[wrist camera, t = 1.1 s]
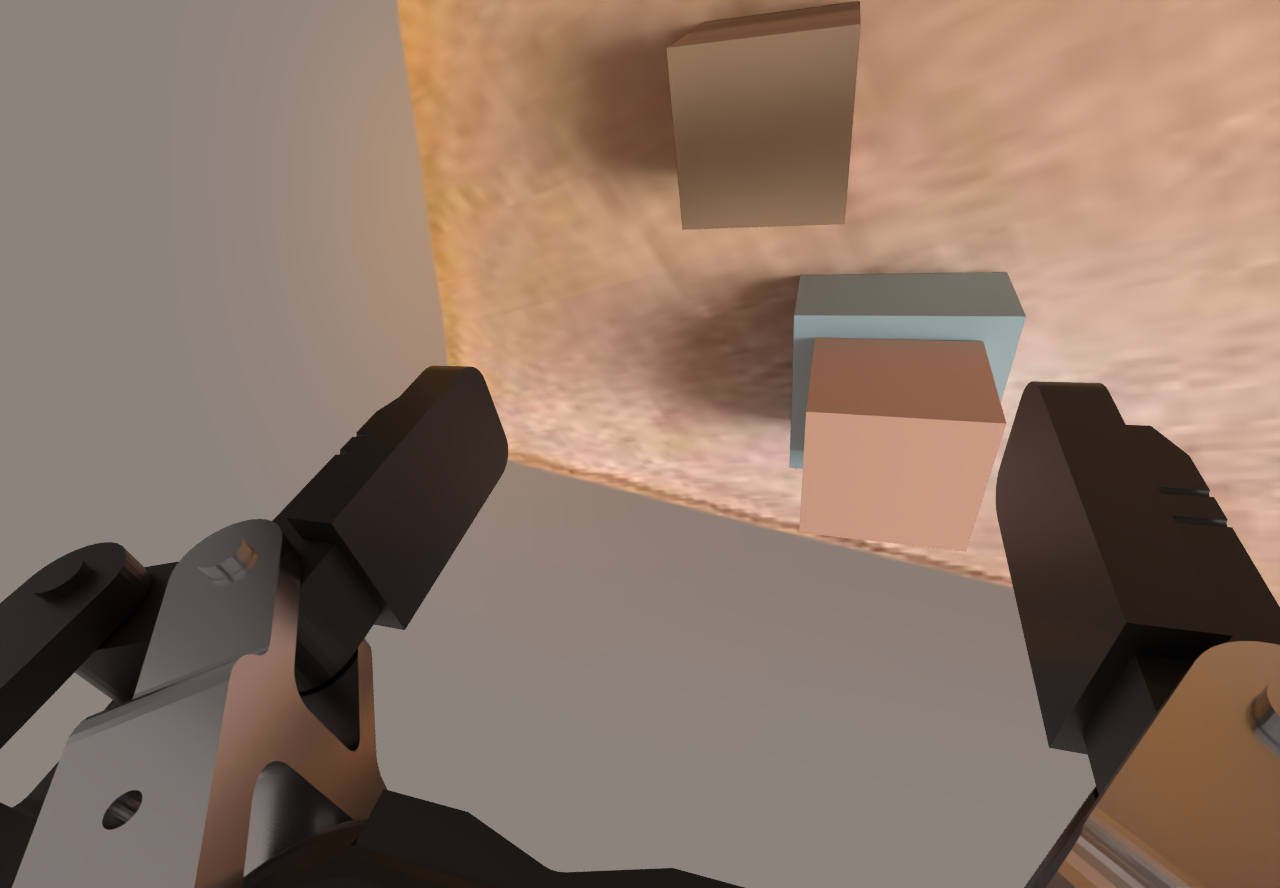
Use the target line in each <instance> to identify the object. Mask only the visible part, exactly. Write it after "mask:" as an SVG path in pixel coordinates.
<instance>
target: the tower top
mask: <svg viewBox="0 0 1280 888" xmlns="http://www.w3.org/2000/svg"><path fill="white" fill-rule="evenodd" d="M1005 426H1006V421H1005V417H1004V414H1003V410H1002V407H1001V403H1000V399H999V396H998V392H997V389H996V385H995V381H994V378H993V374H992V371H991V367H990V363H989V360H988V356H987V353H986V349H985V345H984V342H980V341H940V340H900V339H860V338H820V337H815V342H814V351H813V359H812V367H811V375H810V384H809V392H808V400H807V409H806V423H805V441H804V459H803V477H802V495H801V513H800V532H801V533H810V534H818V535H827V536H835V537H844V538H853V539H861V540H870V541H879V542H887V543H896V544H905V545H913V546H922V547H931V548H939V549H948V550H956V551H965V552H966V549H967V546H968V543H969V540H970V537H971V534H972V530H973V527H974V524H975V521H976V518H977V515H978V511H979V508H980V505H981V502H982V499H983V496H984V492H985V489H986V486H987V483H988V480H989V477H990V473H991V470H992V467H993V464H994V461H995V458H996V454H997V451H998V448H999V445H1000V442H1001V439H1002V436H1003V432H1004V429H1005Z"/></svg>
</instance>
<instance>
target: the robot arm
mask: <svg viewBox="0 0 1280 888" xmlns="http://www.w3.org/2000/svg"><path fill="white" fill-rule="evenodd" d="M507 458H508V444H507V439H506V436H505V433H504V430H503V428H502V425H501V422H500V419H499V417H498V414H497V411H496V409H495V406H494V403H493V401H492V398H491V395H490V393H489V390H488V387H487V385H486V382H485V379H484V377H483V375H482V374H481V372H480V371H479V370H478V369H476V368H474V367H460V366H430V367H428V368H426V369H425V370H424V371H423V372H422V373H421V374H420V375H419V377H418V378H417V379H416V380H415V381H414V382H413V383H412V384H411V385H410V386H409V387H408V388H407V389H406V391H405V392H404V393H403V394H402V395H401V396H400V397H399V398H397V399H395V400H394V401H392V402H391V403H389V404H388V405H386V406H385V407H383V408H382V409H380V410H379V411H377V412H376V413H375V414H374V415H373V416H372V417H371V418H370V419H369V420H368V421H367V422H366V423H365V425H363V426H362V427H361V428H360V430H359V431H358V432H357V436H356V437H352V438H351V439H350V440H349V441H348V442H347V443H346V445H344V446H343V447H342V448H341V450H340V455H335V456H334V457H333V458H332V459H331V460H330V461H329V462H328V463H327V464H326V465H325V466H324V467H323V468H322V469H321V470H320V472H319V473H318V474H317V475H316V476H315V477H314V478H313V479H312V480H311V481H310V482H309V483H308V484H307V485H306V486H305V487H304V488H303V490H301V492H300V493H299V494H298V495H297V496H296V497H295V498H294V499H293V500H292V501H291V502H290V503H289V504H288V505H287V506H286V507H285V508H284V509H283V511H282V512H281V513H280V514H279V515H278V516H277V517H276V518H275V519H274V520H273V521H270V520H266V519H251V520H247V521H242V522H238V523H235V524H232V525H230V526H227V527H225V528H223V529H221V530H219V531H217V532H215V533H213V534H211V535H210V536H208V537H206V538H205V539H204V540H202V541H201V542H199V543H198V544H197V545H196V546H194V547H193V548H192V549H191V550H190V551H189V552H188V553H187V554H186V555H185V556H184V557H183V558H182V559H181V560H180V561H179V562H174V563H168V564H161V565H155V566H150V567H143V566H142V565H141V564H140V563H139V562H138V561H137V560H136V559H135V558H134V557H133V556H132V555H131V554H130V553H129V552H128V551H126V549H124V547H123V546H121V545H119V544H117V543H112V542H111V543H110V542H109V543H99V544H94V545H90V546H86V547H83V548H81V549H78V550H75V551H73V552H71V553H69V554H66V555H65V556H63V557H61V558H59V559H57V560H55V561H54V562H52V563H50V564H49V565H47V566H46V567H44V568H43V569H41V570H40V571H38V572H37V573H36V574H35V575H33V576H32V577H31V578H30V579H28V580H27V581H26V582H25V583H24V584H23V585H21V586H20V587H19V588H18V589H17V590H16V591H14V592H13V593H12V594H11V595H10V596H8V597H7V598H6V599H5V600H4V601H3V602H1V603H0V749H1V748H2V747H3V746H4V745H5V743H6V742H7V741H8V740H9V739H10V738H11V737H12V736H13V735H14V734H15V733H16V732H17V731H18V730H19V729H20V728H21V727H22V726H23V725H24V724H25V723H26V722H27V721H28V720H29V719H30V718H31V717H32V716H33V714H34V713H35V712H36V711H37V710H38V709H39V708H40V707H41V706H42V705H43V704H44V703H45V702H46V701H47V700H48V699H49V698H50V697H51V696H52V695H53V694H54V693H55V691H57V690H58V689H59V688H60V687H61V685H63V683H64V682H65V681H66V680H67V679H68V678H69V677H70V676H71V675H72V674H73V673H74V672H75V673H76V674H78V675H79V676H80V677H82V678H83V679H85V680H86V681H87V682H89V683H90V684H92V685H93V686H94V687H96V688H97V689H99V690H100V691H101V692H103V693H104V694H106V695H107V696H108V697H110V698H111V699H112V700H113V701H112V702H111V703H110V704H109V705H108V706H107V707H106V709H105V710H104V711H102V712H99V713H96V714H94V715H92V716H90V717H87V718H86V719H85V720H83V721H82V722H81V723H80V724H79V725H78V726H77V727H76V728H75V729H74V731H73V732H72V733H71V735H70V736H69V739H68V741H67V743H66V745H65V747H64V750H63V753H62V756H61V758H60V761H59V762H58V763H57V764H56V765H55V766H54V768H52V770H51V771H50V772H49V773H48V774H47V775H46V777H45V778H44V779H43V780H42V781H41V782H40V783H39V784H38V786H37V787H36V788H35V789H34V790H33V791H32V792H31V793H30V794H29V795H28V796H27V797H26V798H25V799H24V800H23V801H22V802H20V803H19V804H17V805H16V806H14V807H13V808H11V807H9V806H6V805H4V804H2V803H0V888H744V887H740V886H736V885H732V884H729V883H725V882H721V881H718V880H714V879H711V878H707V877H703V876H700V875H696V874H692V873H688V872H685V871H681V870H678V869H674V868H665V869H640V870H616V871H591V872H569V873H565V872H556V871H553V870H550V869H548V868H547V867H545V866H543V865H542V864H540V863H539V862H538V861H536V860H535V859H533V858H532V857H531V856H529V855H528V854H526V853H525V852H523V851H522V850H521V849H519V848H518V847H516V846H515V845H514V844H512V843H511V842H509V841H508V840H507V839H505V838H504V837H502V836H501V835H499V834H498V833H497V832H495V831H494V830H492V829H491V828H490V827H488V826H487V825H485V824H484V823H482V822H481V821H480V820H478V819H477V818H476V817H474V816H473V815H471V814H470V813H468V812H465V811H462V810H458V809H454V808H451V807H447V806H444V805H440V804H436V803H433V802H429V801H425V800H422V799H418V798H414V797H411V796H407V795H403V794H400V793H396V792H392V791H388V790H387V788H386V786H385V784H384V781H383V779H382V777H381V774H380V771H379V767H378V763H377V756H376V735H375V713H374V689H373V668H372V651H371V647H370V644H369V642H368V641H367V640H366V639H365V636H366V635H367V633H368V632H369V630H370V629H371V627H372V626H373V625H374V624H375V625H380V626H386V627H392V628H397V629H402V630H405V629H406V627H407V626H408V624H409V622H410V621H411V619H412V618H413V616H414V614H415V613H416V611H417V610H418V608H419V606H420V605H421V603H422V602H423V600H424V598H425V597H426V595H427V594H428V592H429V591H430V589H431V587H432V586H433V584H434V582H435V581H436V579H437V578H438V576H439V575H440V573H441V571H442V570H443V568H444V567H445V565H446V563H447V562H448V560H449V558H450V557H451V555H452V554H453V552H454V551H455V549H456V547H457V546H458V544H459V543H460V541H461V539H462V538H463V536H464V535H465V533H466V532H467V530H468V528H469V527H470V525H471V524H472V522H473V520H474V519H475V517H476V516H477V514H478V512H479V511H480V509H481V508H482V506H483V504H484V503H485V501H486V499H487V498H488V496H489V494H490V493H491V492H492V490H493V488H494V487H495V485H496V484H497V482H498V480H499V479H500V477H501V476H502V474H503V472H504V470H505V467H506V464H507ZM1209 491H1210V490H1209V488H1208V486H1207V485H1206V483H1205V481H1204V480H1203V478H1202V476H1201V475H1200V473H1199V471H1198V470H1197V468H1196V466H1195V465H1194V463H1193V461H1192V460H1191V458H1190V456H1189V455H1188V454H1186V453H1185V452H1184V451H1182V450H1181V449H1180V448H1179V447H1177V446H1176V445H1175V444H1173V443H1172V442H1171V441H1170V440H1168V439H1167V438H1166V437H1164V436H1163V435H1162V434H1160V433H1159V432H1158V431H1157V430H1155V429H1154V428H1153V427H1151V426H1139V425H1126V424H1125V423H1124V421H1123V419H1122V417H1121V415H1120V413H1119V411H1118V409H1117V407H1116V405H1115V403H1114V401H1113V399H1112V397H1111V395H1110V393H1109V391H1108V390H1107V388H1106V387H1105V386H1104V385H1103V384H1101V383H1072V382H1030V383H1029V384H1028V385H1027V386H1026V388H1025V389H1024V392H1023V394H1022V397H1021V400H1020V403H1019V406H1018V410H1017V413H1016V416H1015V420H1014V423H1013V426H1012V429H1011V433H1010V436H1009V439H1008V442H1007V446H1006V449H1005V452H1004V456H1003V459H1002V462H1001V465H1000V469H999V473H998V478H997V485H996V511H997V517H998V522H999V526H1000V531H1001V535H1002V539H1003V544H1004V548H1005V553H1006V557H1007V562H1008V566H1009V571H1010V575H1011V580H1012V584H1013V588H1014V593H1015V597H1016V602H1017V606H1018V611H1019V615H1020V619H1021V624H1022V629H1023V633H1024V637H1025V642H1026V646H1027V651H1028V655H1029V660H1030V664H1031V668H1032V673H1033V678H1034V682H1035V686H1036V691H1037V695H1038V700H1039V704H1040V709H1041V713H1042V718H1043V722H1044V727H1045V731H1046V735H1047V740H1048V744H1049V747H1050V748H1055V749H1061V750H1066V751H1071V752H1077V753H1083V754H1088V757H1089V760H1090V764H1091V768H1092V771H1093V775H1094V779H1095V783H1096V786H1095V788H1094V789H1093V790H1092V791H1091V793H1090V794H1089V795H1088V797H1087V798H1086V800H1085V801H1084V802H1083V804H1082V805H1081V807H1080V808H1079V810H1078V811H1077V812H1076V814H1075V815H1074V817H1073V818H1072V820H1071V821H1070V823H1069V824H1068V825H1067V827H1066V828H1065V830H1064V831H1063V833H1062V834H1061V835H1060V837H1059V838H1058V840H1057V841H1056V843H1055V844H1054V845H1053V847H1052V849H1051V850H1050V851H1049V853H1048V854H1047V855H1046V857H1045V858H1044V860H1043V861H1042V863H1041V864H1040V865H1039V867H1038V868H1037V870H1036V871H1035V873H1034V874H1033V875H1032V877H1031V878H1030V880H1029V881H1028V883H1027V884H1026V886H1025V887H1024V888H1280V607H1279V605H1278V604H1277V602H1276V600H1275V599H1274V597H1273V595H1272V594H1271V592H1270V590H1269V588H1268V587H1267V585H1266V583H1265V582H1264V580H1263V578H1262V577H1261V575H1260V573H1259V572H1258V570H1257V568H1256V567H1255V565H1254V563H1253V562H1252V560H1251V558H1250V557H1249V555H1248V553H1247V552H1246V550H1245V548H1244V547H1243V545H1242V543H1241V542H1240V540H1239V538H1238V537H1237V535H1236V533H1235V532H1234V530H1233V528H1231V527H1227V518H1226V516H1225V515H1224V513H1223V511H1222V510H1221V508H1220V506H1219V505H1218V503H1217V501H1216V500H1215V498H1214V497H1209Z"/></svg>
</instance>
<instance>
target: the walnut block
mask: <svg viewBox="0 0 1280 888" xmlns="http://www.w3.org/2000/svg"><path fill="white" fill-rule="evenodd" d="M859 37H860V1H857V2H850V3H842V4H835V5H827V6H820V7H812V8H805V9H797V10H790V11H782V12H775V13H767V14H760V15H752V16H745V17H737V18H730V19H722V20H715V21H707V22H704V23H702V24H701V25H699V26H698V27H696V28H695V29H694V30H692V31H691V32H689V33H688V34H686V35H685V36H683V37H682V38H680V39H679V40H677V41H676V42H674V43H673V44H671V45H670V46H669V47H667V48H666V49H667V60H668V71H669V83H670V94H671V106H672V117H673V128H674V140H675V151H676V162H677V174H678V185H679V196H680V208H681V219H682V230H684V229H713V228H742V227H771V226H800V225H829V224H845V212H846V200H847V187H848V175H849V162H850V150H851V137H852V124H853V112H854V99H855V87H856V74H857V62H858V49H859Z"/></svg>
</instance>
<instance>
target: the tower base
mask: <svg viewBox="0 0 1280 888" xmlns="http://www.w3.org/2000/svg"><path fill="white" fill-rule="evenodd" d="M1025 318H1026V316H1025V313H1024V311H1023V309H1022V306H1021V304H1020V302H1019V299H1018V297H1017V295H1016V292H1015V290H1014V288H1013V285H1012V283H1011V281H1010V278H1009V276H1008V274H1007V272H992V273H913V274H833V275H800V280H799V287H798V293H797V300H796V307H795V313H794V337H793V371H792V404H791V437H790V468H803V459H804V441H805V423H806V409H807V400H808V392H809V384H810V375H811V367H812V359H813V351H814V342H815V337H820V338H860V339H900V340H940V341H980V342H984V345H985V349H986V353H987V356H988V360H989V363H990V367H991V371H992V374H993V378H994V381H995V385H996V389H997V392H998V396H999V399H1000V403H1001V399H1002V396H1003V393H1004V389H1005V386H1006V382H1007V379H1008V376H1009V372H1010V369H1011V365H1012V362H1013V359H1014V355H1015V352H1016V349H1017V345H1018V342H1019V338H1020V335H1021V332H1022V328H1023V325H1024V321H1025Z"/></svg>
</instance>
